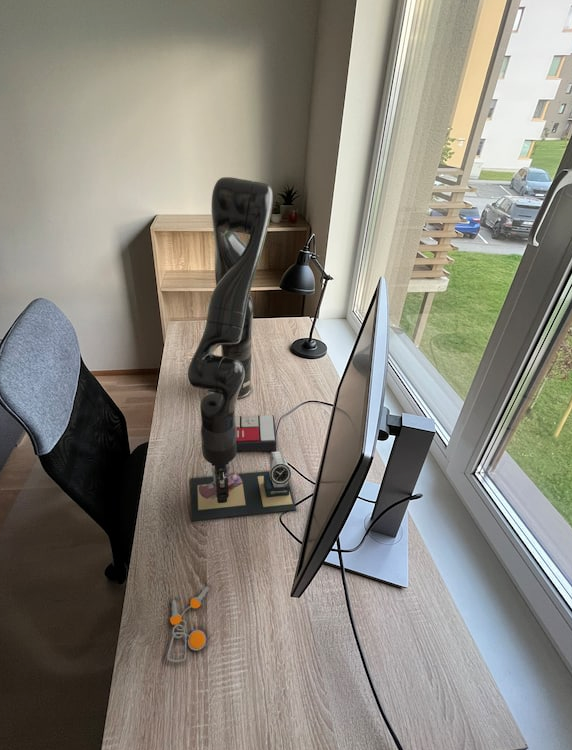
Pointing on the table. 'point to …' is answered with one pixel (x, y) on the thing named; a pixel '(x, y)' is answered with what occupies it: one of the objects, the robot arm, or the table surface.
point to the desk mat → (238, 499)
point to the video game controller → (210, 489)
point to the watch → (277, 476)
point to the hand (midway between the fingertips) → (221, 488)
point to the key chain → (196, 637)
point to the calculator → (256, 433)
